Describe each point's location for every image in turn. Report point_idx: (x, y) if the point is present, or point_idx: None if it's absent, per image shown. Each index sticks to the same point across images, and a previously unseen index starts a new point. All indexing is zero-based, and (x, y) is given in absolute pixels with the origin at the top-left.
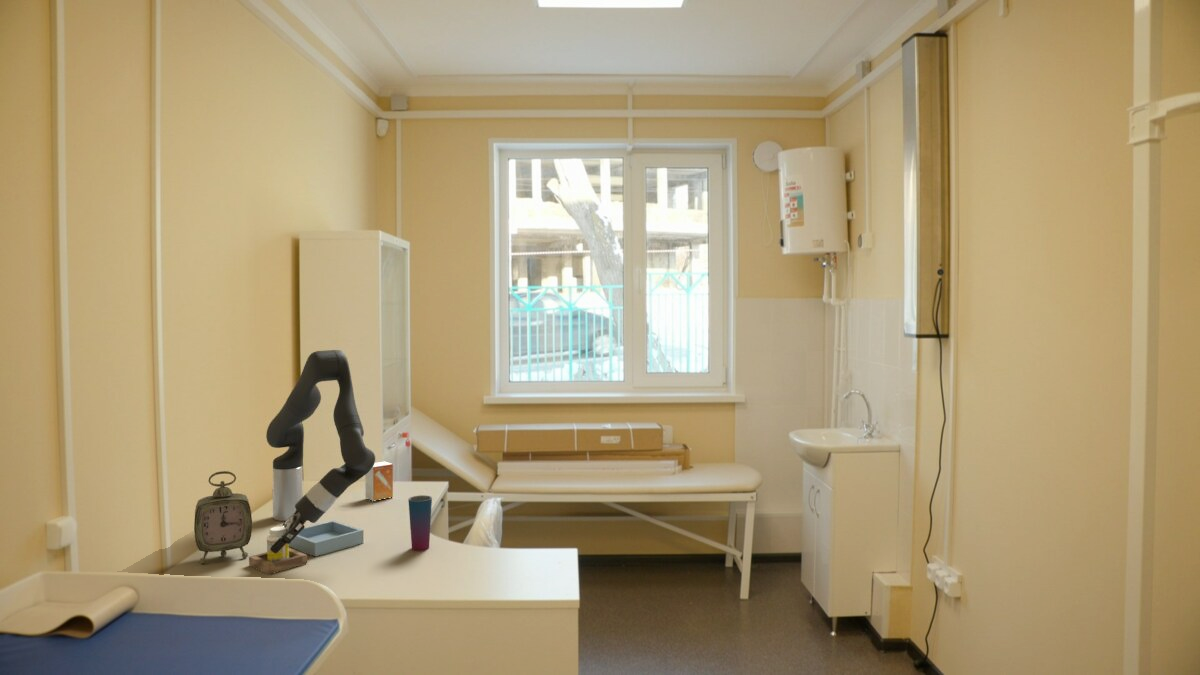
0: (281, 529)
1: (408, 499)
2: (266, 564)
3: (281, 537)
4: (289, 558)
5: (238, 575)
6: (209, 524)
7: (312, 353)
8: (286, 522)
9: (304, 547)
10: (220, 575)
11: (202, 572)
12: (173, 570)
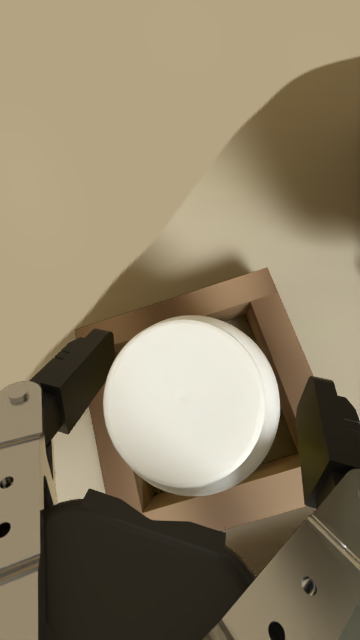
0: (115, 426)
1: None
2: (100, 321)
3: (3, 390)
4: None
5: (159, 237)
6: None
7: None
8: (275, 556)
9: (356, 613)
10: (197, 185)
11: (269, 136)
12: (346, 61)
